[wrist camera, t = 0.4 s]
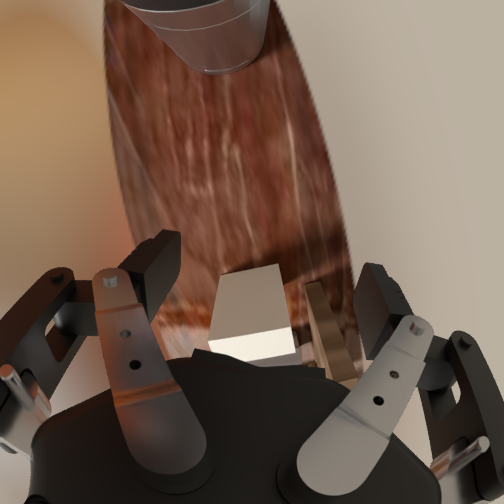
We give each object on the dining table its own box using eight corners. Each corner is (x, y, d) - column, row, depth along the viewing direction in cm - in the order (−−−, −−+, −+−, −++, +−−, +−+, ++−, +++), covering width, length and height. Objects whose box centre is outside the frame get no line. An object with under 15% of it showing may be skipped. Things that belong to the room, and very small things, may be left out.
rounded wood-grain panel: (224, 300, 36) (210, 403, 21) (319, 281, 35) (358, 377, 20) (254, 387, 42) (255, 475, 28) (329, 373, 41) (351, 459, 27)
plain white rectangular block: (220, 275, 34) (207, 341, 23) (278, 263, 34) (290, 326, 23) (226, 296, 36) (218, 365, 24) (282, 285, 35) (295, 352, 24)
